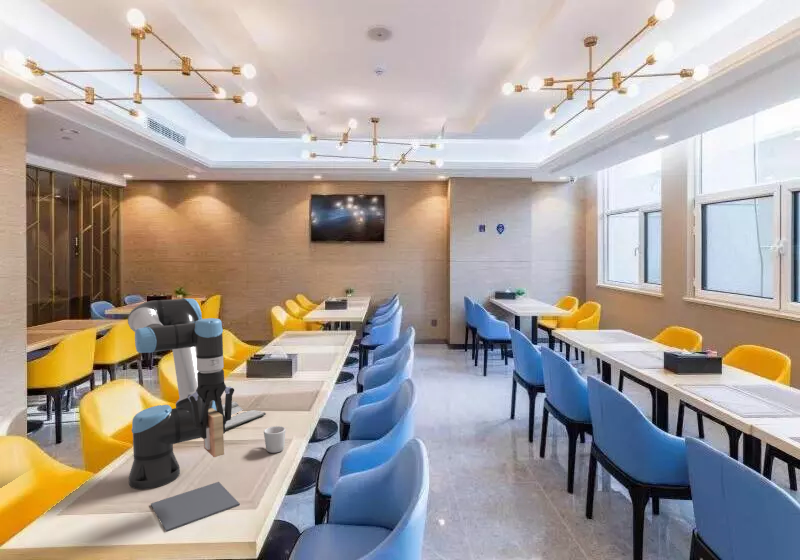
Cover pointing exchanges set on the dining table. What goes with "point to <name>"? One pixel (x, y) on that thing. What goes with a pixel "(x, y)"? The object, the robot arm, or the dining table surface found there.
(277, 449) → the cup
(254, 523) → the dining table surface
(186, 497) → the slate mat
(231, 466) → the dining table surface
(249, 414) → the mat
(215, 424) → the tan block
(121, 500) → the dining table surface
